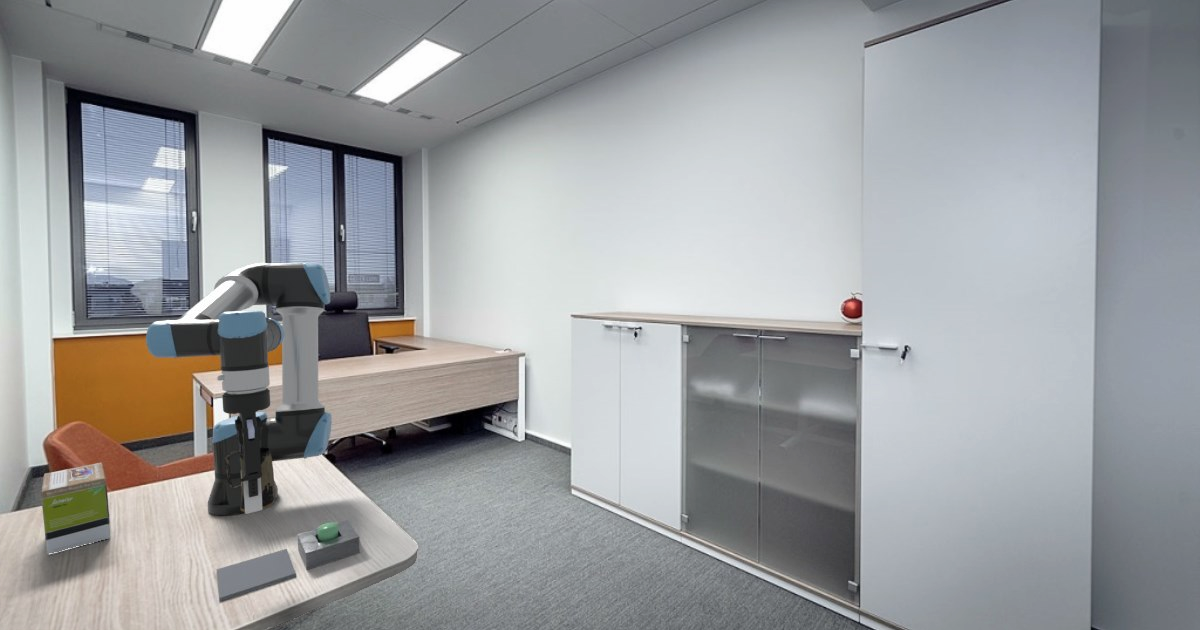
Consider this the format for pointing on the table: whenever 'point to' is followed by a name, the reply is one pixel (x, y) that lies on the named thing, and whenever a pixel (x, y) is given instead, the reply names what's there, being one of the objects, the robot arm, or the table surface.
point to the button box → (328, 546)
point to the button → (327, 532)
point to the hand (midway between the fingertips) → (252, 505)
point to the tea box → (75, 507)
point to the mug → (266, 478)
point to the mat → (254, 574)
